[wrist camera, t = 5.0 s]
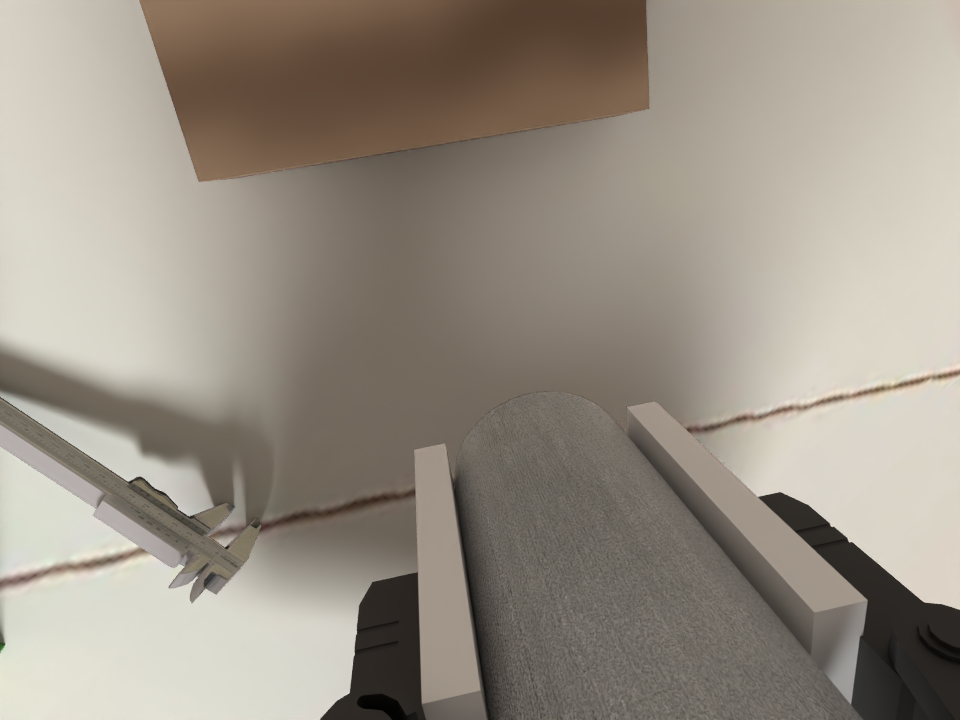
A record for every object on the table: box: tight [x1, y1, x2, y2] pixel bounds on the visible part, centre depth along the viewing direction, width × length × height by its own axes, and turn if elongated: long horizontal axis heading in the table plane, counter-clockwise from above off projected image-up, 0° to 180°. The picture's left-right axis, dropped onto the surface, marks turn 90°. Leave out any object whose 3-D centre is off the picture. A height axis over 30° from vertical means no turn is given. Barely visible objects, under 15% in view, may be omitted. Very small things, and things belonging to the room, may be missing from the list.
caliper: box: [0, 397, 261, 603], centre depth 25 cm, size 20×1×6 cm, turn 51°
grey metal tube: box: [454, 391, 863, 720], centre depth 9 cm, size 4×4×10 cm
